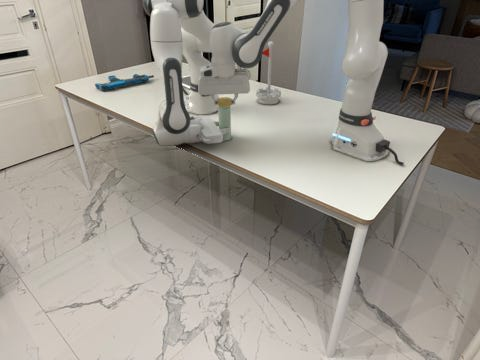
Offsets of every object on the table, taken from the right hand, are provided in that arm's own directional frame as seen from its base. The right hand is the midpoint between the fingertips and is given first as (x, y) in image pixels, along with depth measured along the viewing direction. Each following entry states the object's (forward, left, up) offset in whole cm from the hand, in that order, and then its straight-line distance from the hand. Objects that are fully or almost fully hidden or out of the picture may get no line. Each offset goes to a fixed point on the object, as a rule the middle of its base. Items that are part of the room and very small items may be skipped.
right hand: (224, 104), depth 136 cm
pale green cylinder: (0, 0, -15) cm, 15 cm away
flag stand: (+24, -43, -15) cm, 52 cm away
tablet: (+74, -28, -15) cm, 80 cm away
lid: (0, 0, +2) cm, 2 cm away
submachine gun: (+101, +8, -15) cm, 102 cm away
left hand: (0, -1, -10) cm, 10 cm away
